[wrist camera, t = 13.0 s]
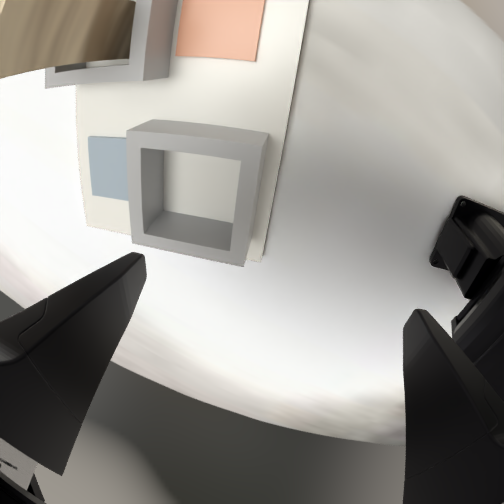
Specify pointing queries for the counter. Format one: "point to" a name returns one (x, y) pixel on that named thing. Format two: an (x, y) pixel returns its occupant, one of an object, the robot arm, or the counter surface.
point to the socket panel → (189, 124)
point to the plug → (62, 33)
